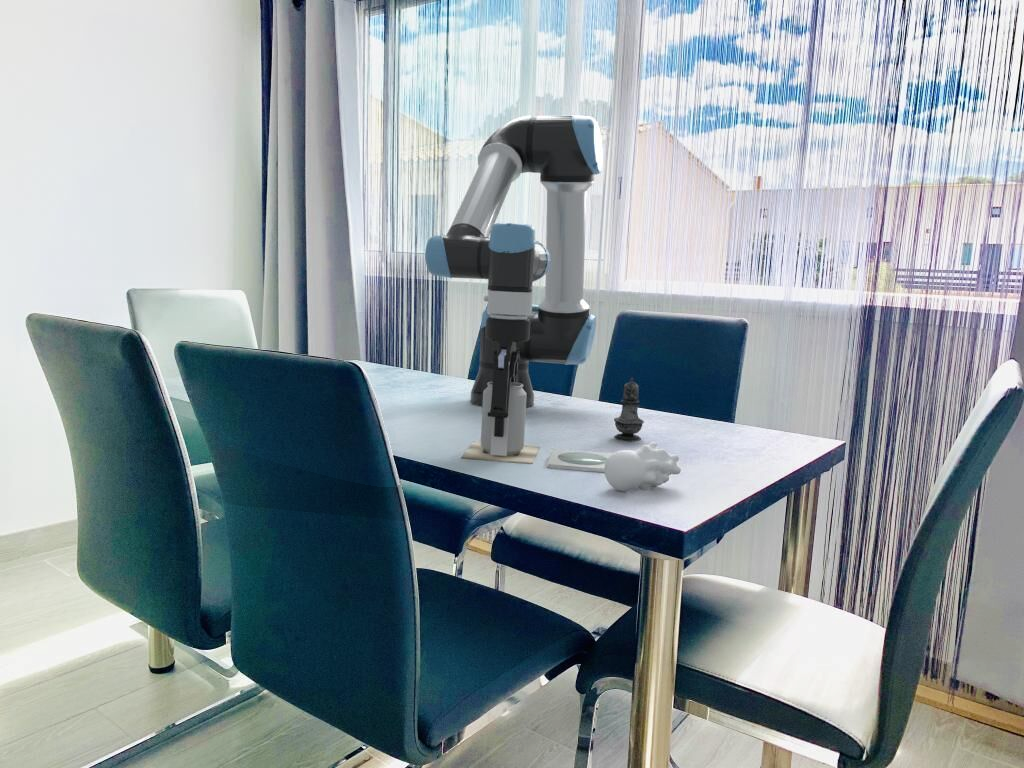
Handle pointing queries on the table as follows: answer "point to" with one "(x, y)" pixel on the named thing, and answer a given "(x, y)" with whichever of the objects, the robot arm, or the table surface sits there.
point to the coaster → (578, 460)
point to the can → (514, 413)
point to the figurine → (640, 468)
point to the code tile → (523, 456)
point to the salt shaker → (629, 414)
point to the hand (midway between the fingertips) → (502, 449)
